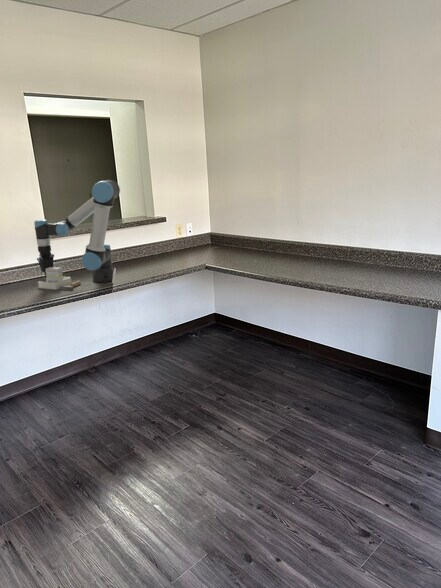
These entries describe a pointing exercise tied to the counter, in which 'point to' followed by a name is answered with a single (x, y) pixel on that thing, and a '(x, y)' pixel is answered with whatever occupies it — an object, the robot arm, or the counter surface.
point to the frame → (55, 285)
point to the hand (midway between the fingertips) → (49, 282)
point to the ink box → (54, 274)
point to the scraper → (70, 286)
